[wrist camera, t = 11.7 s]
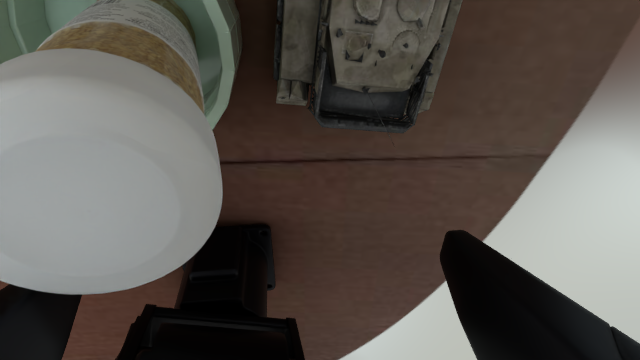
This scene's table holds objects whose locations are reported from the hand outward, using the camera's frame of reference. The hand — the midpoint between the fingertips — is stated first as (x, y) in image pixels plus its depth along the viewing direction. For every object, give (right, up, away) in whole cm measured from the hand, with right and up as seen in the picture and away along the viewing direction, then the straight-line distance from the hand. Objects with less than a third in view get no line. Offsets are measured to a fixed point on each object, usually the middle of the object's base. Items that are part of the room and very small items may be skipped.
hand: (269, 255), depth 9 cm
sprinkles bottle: (-7, +9, +8) cm, 14 cm away
